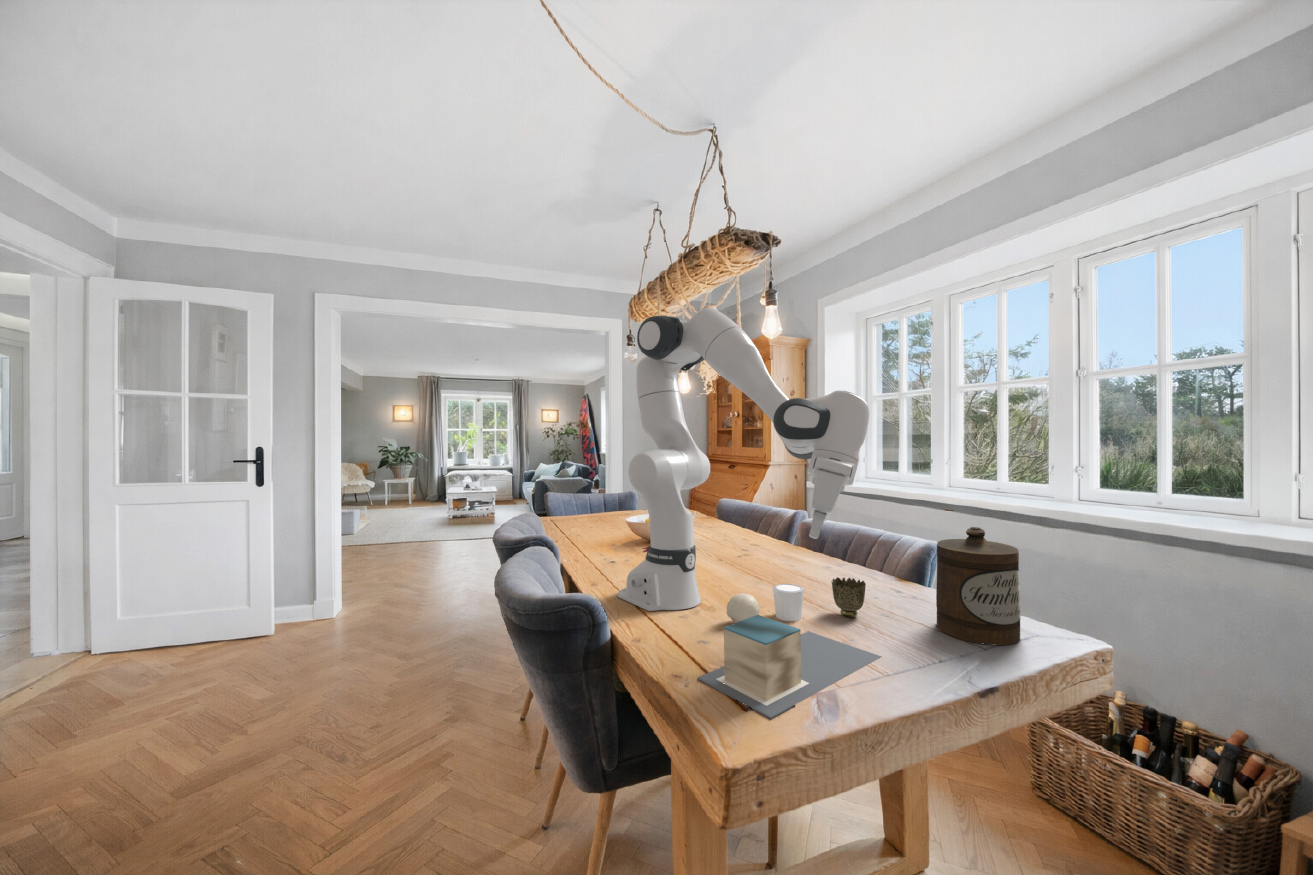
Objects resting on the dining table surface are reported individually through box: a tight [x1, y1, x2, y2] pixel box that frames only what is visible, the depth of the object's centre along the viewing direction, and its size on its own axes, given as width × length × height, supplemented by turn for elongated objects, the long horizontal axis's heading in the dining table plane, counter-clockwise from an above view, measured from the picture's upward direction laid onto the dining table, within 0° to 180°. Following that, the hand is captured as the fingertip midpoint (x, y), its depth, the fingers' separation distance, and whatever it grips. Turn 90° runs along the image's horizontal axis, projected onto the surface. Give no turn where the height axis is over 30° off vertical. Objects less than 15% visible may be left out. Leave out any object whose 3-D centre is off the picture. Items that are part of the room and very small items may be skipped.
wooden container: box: [935, 526, 1021, 646], centre depth 105 cm, size 15×15×22 cm
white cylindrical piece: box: [772, 583, 805, 622], centre depth 115 cm, size 7×7×7 cm
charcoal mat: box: [697, 631, 883, 720], centre depth 90 cm, size 32×16×1 cm, turn 128°
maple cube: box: [723, 614, 801, 701], centre depth 84 cm, size 9×9×9 cm
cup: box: [830, 576, 867, 619], centre depth 115 cm, size 8×7×8 cm
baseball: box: [726, 592, 760, 623], centre depth 111 cm, size 7×7×7 cm
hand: (813, 537), depth 97 cm, fingers closed
